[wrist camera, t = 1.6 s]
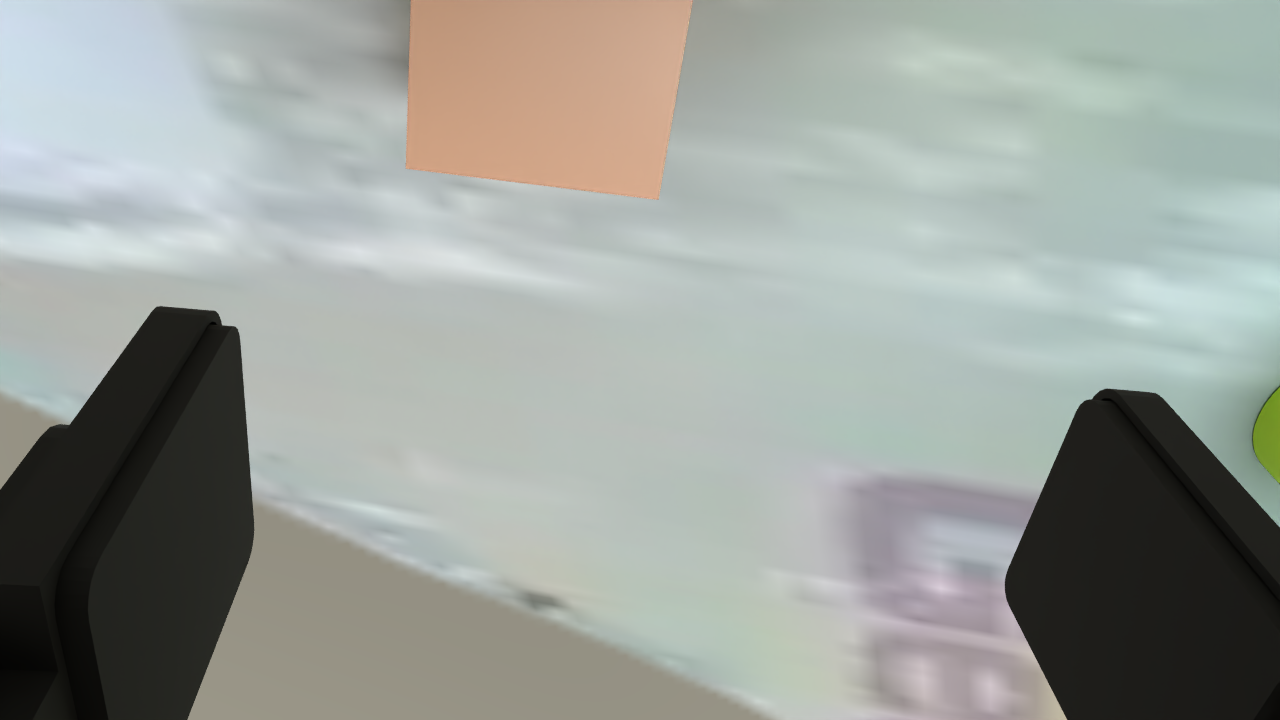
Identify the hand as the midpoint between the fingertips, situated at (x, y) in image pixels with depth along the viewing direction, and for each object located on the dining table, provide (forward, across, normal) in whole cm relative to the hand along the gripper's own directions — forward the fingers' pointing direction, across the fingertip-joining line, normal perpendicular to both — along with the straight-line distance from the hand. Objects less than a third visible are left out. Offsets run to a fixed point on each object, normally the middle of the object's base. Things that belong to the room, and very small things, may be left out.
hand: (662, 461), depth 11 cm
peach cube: (+20, +2, 0) cm, 20 cm away
